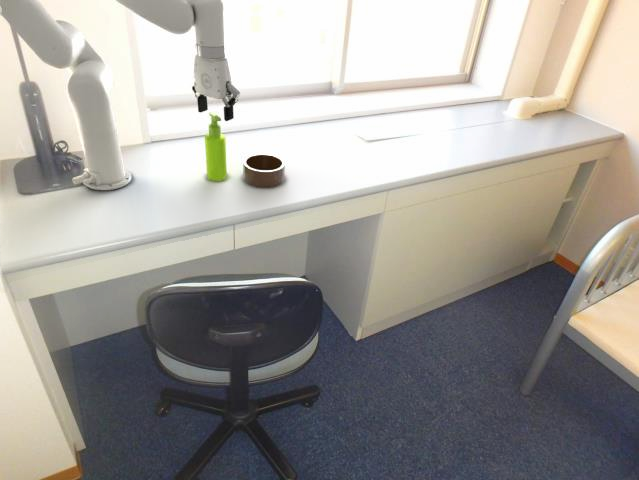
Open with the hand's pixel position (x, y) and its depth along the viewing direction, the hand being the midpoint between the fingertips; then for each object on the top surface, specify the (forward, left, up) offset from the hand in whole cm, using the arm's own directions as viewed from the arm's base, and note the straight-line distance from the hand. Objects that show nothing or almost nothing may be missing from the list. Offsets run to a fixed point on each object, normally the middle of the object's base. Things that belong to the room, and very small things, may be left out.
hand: (215, 115), depth 125 cm
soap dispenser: (0, 0, -20) cm, 20 cm away
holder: (+9, -11, -20) cm, 24 cm away
